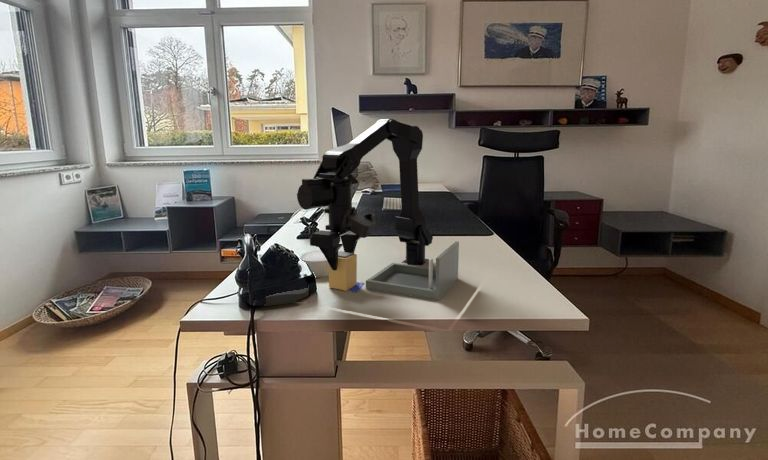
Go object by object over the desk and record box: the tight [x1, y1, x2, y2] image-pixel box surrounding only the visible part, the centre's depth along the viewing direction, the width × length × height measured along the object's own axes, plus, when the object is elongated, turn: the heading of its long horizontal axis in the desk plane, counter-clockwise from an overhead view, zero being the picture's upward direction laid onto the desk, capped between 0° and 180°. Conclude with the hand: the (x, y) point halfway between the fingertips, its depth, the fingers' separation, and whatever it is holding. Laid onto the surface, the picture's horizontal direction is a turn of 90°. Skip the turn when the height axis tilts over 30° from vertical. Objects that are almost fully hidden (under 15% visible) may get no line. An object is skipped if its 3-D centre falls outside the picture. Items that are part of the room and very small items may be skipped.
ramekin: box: [299, 249, 329, 279], centre depth 118 cm, size 11×11×5 cm
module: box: [328, 250, 358, 292], centre depth 106 cm, size 5×5×8 cm
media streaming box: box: [263, 286, 310, 307], centre depth 104 cm, size 15×15×3 cm
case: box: [365, 240, 460, 301], centre depth 107 cm, size 16×19×11 cm
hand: (342, 265), depth 105 cm, fingers open, 7 cm apart
